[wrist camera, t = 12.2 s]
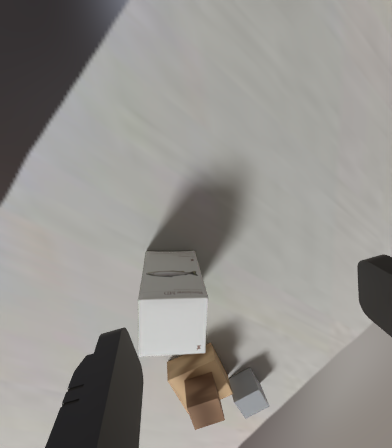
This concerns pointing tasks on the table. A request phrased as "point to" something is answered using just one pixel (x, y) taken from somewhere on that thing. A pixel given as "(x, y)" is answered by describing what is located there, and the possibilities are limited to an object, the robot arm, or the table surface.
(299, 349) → the table surface
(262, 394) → the grey painted cube
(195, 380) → the walnut cube
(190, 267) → the supplement box
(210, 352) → the oak base block
